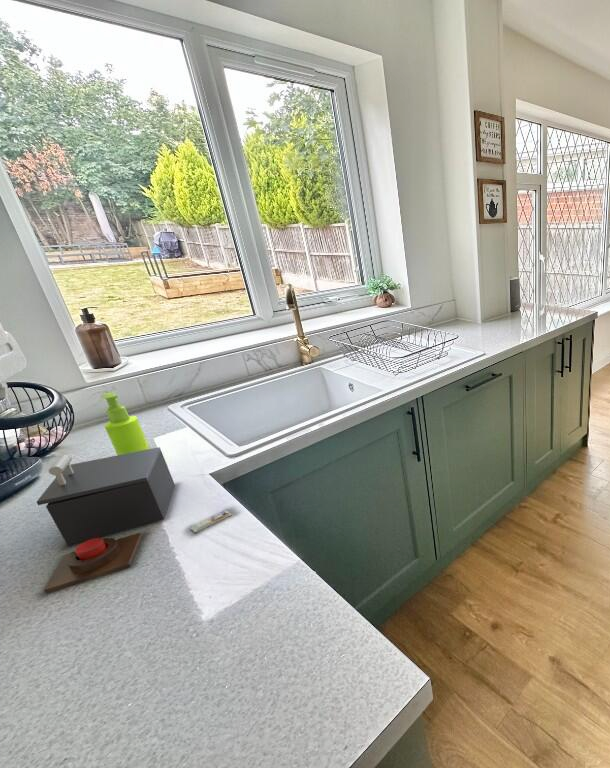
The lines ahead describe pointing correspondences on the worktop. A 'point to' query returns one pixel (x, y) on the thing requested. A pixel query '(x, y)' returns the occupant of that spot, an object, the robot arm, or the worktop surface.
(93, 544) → the button
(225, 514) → the granola bar
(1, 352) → the robot arm
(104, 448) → the worktop surface
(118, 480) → the box lid
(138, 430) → the soap dispenser
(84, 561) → the button block
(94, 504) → the grey lidded storage box
